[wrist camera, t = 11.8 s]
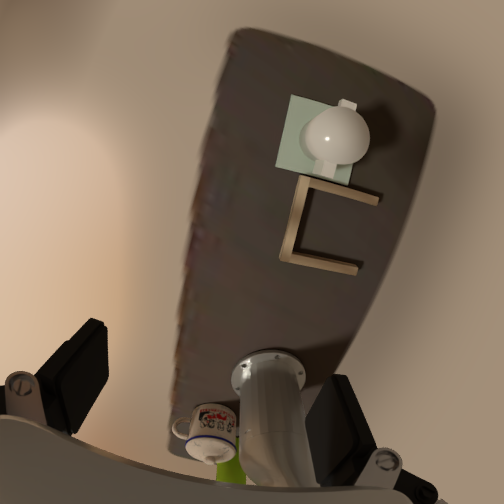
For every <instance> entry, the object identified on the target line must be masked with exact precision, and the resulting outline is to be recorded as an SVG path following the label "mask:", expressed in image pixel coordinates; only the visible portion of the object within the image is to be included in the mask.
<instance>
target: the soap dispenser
mask: <svg viewBox="0 0 504 504" xmlns="http://www.w3.org/2000/svg"><path fill="white" fill-rule="evenodd" d="M235 446H236V449H237V452H236V454H235V456H234V457H233V458H232V459H231V460H229V461H226V462H221V463H217V476H216V481H222V482H229V483H237V484H246V474H245V473H244V471H243V470H242V467H241V465H240V462H239V438H237V437H236V443H235Z"/></svg>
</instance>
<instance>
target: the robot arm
mask: <svg viewBox="0 0 504 504" xmlns="http://www.w3.org/2000/svg"><path fill="white" fill-rule="evenodd" d="M107 332H108V330H107V327H106V326H104V322H102V321H99V320H96V319H93V318H90V319H89V320H88V321H87V322H86V323H85V324H84V325H83V326H82V327H81V328H80V329H79V330H78V331H77V332H76V333H75V334H74V335H73V336H72V337H71V339H70V340H68V341H65V342H64V343H63V344H62V345H61V346H60V347H59V348H58V350H56V352H55V353H54V354H53V355H52V356H51V357H50V358H49V359H48V360H47V361H46V362H45V364H44V365H43V366H42V367H41V368H40V369H39V370H38V372H37V373H36V374H35V375H32V374H31V373H28V372H25V371H17V372H14V373H12V374H10V375H9V376H8V377H7V379H6V381H5V385H3V386H0V504H448V503H446V502H445V501H444V500H443V499H441V500H438V492H437V489H436V488H435V487H434V485H432V484H431V483H429V482H427V481H425V480H423V479H421V478H419V477H417V476H415V475H413V474H411V473H409V472H407V471H405V470H404V469H402V459H401V457H400V455H399V454H398V453H397V452H395V451H394V450H392V449H389V448H377V446H376V443H375V441H374V438H373V436H372V433H371V431H370V428H369V426H368V423H367V421H366V419H365V417H364V414H363V412H362V410H361V407H360V405H359V403H358V400H357V398H356V395H355V393H354V391H353V389H352V386H351V384H350V382H349V380H348V377H347V376H346V375H340V374H333V375H332V376H331V377H328V378H327V379H326V381H325V383H324V385H323V387H322V389H321V391H320V393H319V394H318V396H317V398H316V400H315V402H314V404H313V405H312V407H311V409H310V411H309V412H308V414H307V416H306V417H305V412H304V407H303V403H302V398H301V393H300V390H301V389H302V387H303V386H304V383H305V380H306V373H305V369H304V366H303V364H302V363H301V361H300V360H299V359H298V358H297V357H295V356H294V355H292V354H290V353H287V352H285V351H280V350H262V351H258V352H254V353H252V354H249V355H247V356H246V357H244V358H242V359H241V360H240V361H239V362H238V363H237V364H236V366H235V367H234V369H233V371H232V377H231V383H232V387H233V389H234V391H235V392H236V393H237V394H238V395H239V396H240V427H239V462H240V465H241V467H242V470H243V471H244V473H245V474H246V475H247V476H248V477H249V478H250V479H251V480H252V481H253V482H254V483H255V484H257V485H258V486H257V485H246V484H237V483H229V482H222V481H215V480H209V479H204V478H198V477H193V476H188V475H183V474H179V473H175V472H170V471H167V470H163V469H159V468H155V467H152V466H148V465H145V464H142V463H139V462H135V461H132V460H129V459H126V458H124V457H121V456H118V455H115V454H113V453H110V452H107V451H105V450H102V449H99V448H97V447H94V446H92V445H90V444H87V443H85V442H83V441H80V440H78V439H76V438H73V437H71V435H72V434H73V433H74V434H76V433H77V432H78V430H79V429H80V427H81V425H82V423H83V421H84V420H85V418H86V416H87V414H88V412H89V411H90V409H91V407H92V406H93V404H94V402H95V401H96V399H97V397H98V396H99V394H100V392H101V390H102V389H103V387H104V385H105V384H106V382H107V380H108V377H109V366H108V340H107V339H108V335H107V334H108V333H107Z"/></svg>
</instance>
